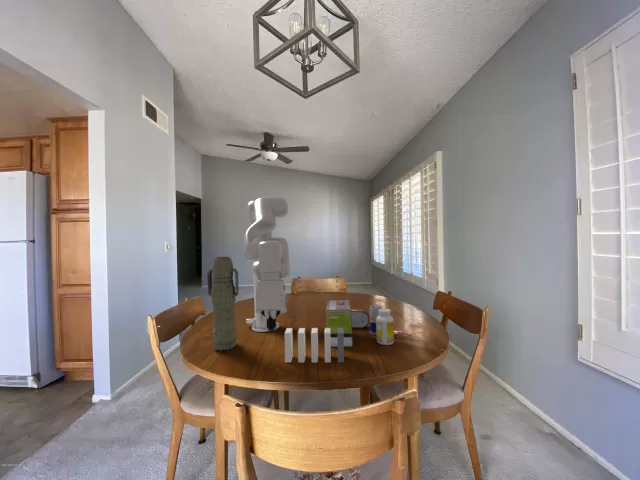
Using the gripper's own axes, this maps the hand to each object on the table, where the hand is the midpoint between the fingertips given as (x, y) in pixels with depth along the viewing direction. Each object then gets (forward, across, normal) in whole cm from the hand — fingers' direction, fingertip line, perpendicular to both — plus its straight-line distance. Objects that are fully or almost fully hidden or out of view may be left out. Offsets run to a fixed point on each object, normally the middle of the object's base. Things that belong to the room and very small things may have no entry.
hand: (271, 329), depth 98 cm
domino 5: (+11, -24, -1) cm, 26 cm away
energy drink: (+10, -40, -26) cm, 49 cm away
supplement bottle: (+11, -42, -16) cm, 46 cm away
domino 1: (+11, -6, -1) cm, 12 cm away
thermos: (+10, +21, -12) cm, 26 cm away
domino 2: (+11, -10, -1) cm, 15 cm away
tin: (+10, -31, -34) cm, 47 cm away
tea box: (+11, -24, -19) cm, 32 cm away
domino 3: (+11, -15, -1) cm, 18 cm away
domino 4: (+11, -19, -1) cm, 22 cm away
